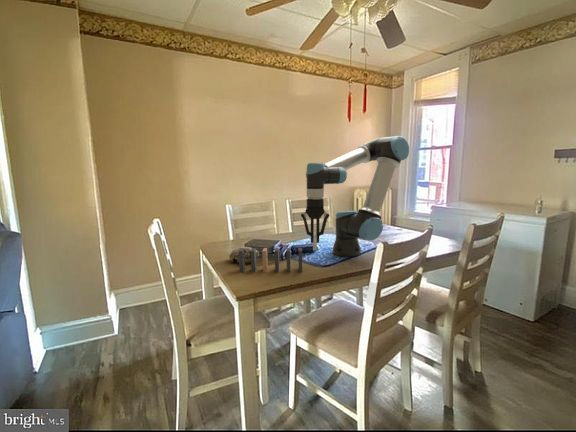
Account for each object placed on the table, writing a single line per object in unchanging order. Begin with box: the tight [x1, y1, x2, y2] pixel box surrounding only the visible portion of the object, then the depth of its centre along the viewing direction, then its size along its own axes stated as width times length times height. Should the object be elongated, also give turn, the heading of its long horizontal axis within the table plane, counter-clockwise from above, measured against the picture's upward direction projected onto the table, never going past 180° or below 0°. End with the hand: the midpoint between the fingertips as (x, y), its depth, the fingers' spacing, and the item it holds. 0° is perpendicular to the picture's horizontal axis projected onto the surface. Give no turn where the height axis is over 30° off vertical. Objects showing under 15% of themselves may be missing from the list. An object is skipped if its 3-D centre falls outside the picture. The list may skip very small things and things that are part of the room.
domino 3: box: [261, 247, 269, 273], centre depth 141 cm, size 2×5×10 cm, turn 178°
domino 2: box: [250, 247, 257, 273], centre depth 142 cm, size 2×5×10 cm, turn 177°
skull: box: [228, 246, 260, 264], centre depth 155 cm, size 10×16×10 cm
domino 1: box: [238, 248, 246, 273], centre depth 142 cm, size 2×5×10 cm, turn 177°
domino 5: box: [286, 247, 292, 273], centre depth 141 cm, size 2×5×10 cm, turn 178°
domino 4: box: [274, 247, 280, 273], centre depth 141 cm, size 2×5×10 cm, turn 178°
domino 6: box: [297, 247, 303, 273], centre depth 141 cm, size 2×5×10 cm, turn 178°
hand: (314, 249), depth 139 cm, fingers closed
